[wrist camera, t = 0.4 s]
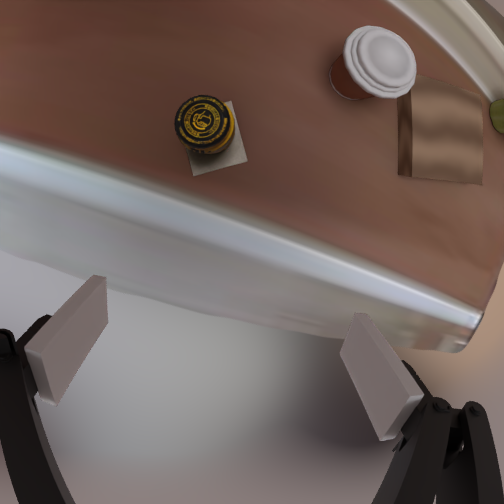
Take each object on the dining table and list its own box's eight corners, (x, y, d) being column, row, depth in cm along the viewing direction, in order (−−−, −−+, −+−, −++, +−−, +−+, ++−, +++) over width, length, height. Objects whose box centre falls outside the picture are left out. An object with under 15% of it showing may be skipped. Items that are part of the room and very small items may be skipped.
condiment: (231, 101, 36) (229, 78, 24) (247, 161, 38) (252, 163, 27) (177, 116, 36) (153, 101, 24) (194, 176, 38) (176, 184, 27)
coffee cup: (378, 114, 37) (425, 105, 25) (318, 103, 36) (349, 85, 25) (379, 58, 34) (422, 34, 22) (320, 45, 33) (349, 10, 22)
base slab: (395, 77, 35) (409, 72, 31) (465, 97, 35) (480, 95, 32) (397, 174, 39) (412, 176, 36) (466, 181, 40) (481, 185, 36)
